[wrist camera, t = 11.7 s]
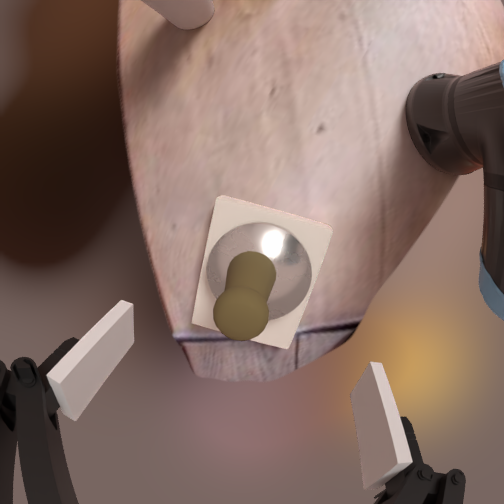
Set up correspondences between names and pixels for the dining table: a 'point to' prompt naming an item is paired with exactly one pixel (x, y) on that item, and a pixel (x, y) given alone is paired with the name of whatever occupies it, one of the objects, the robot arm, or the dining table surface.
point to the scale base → (239, 212)
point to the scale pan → (277, 250)
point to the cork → (245, 296)
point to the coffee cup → (184, 11)
